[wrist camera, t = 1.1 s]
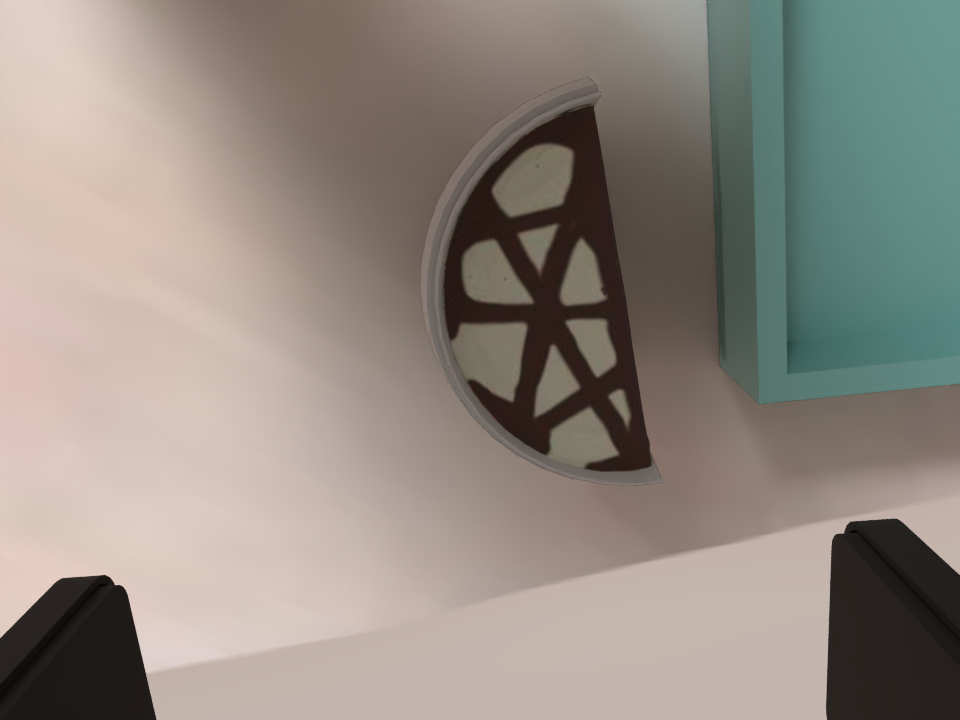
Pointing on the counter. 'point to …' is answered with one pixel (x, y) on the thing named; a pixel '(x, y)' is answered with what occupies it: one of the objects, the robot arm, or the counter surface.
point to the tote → (836, 194)
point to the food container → (538, 295)
